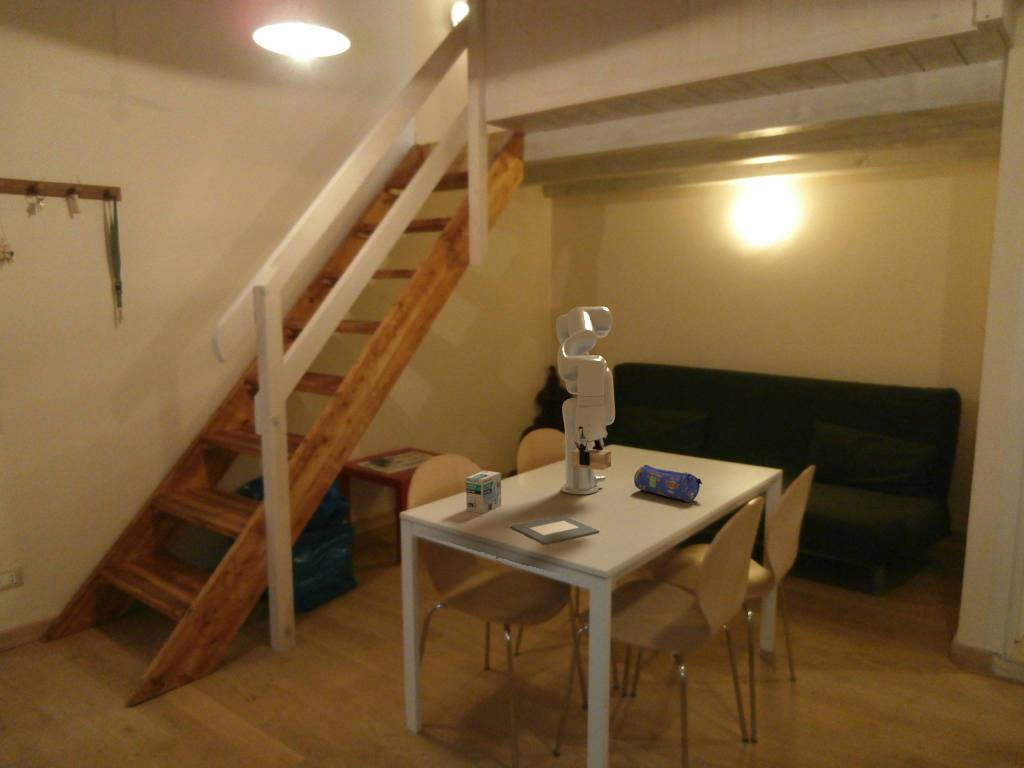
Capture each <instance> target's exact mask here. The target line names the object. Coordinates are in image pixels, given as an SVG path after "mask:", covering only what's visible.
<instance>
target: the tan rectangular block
mask: <svg viewBox="0 0 1024 768" xmlns="http://www.w3.org/2000/svg"><path fill="white" fill-rule="evenodd" d="M588 452H590V465H589V466H585V465H580V464H579V451H578V449H575V450H573V451H571V466H572V467H581V468H589V469H594V470H600V471H604V470H606V469H608V468H611V467H612V451H611V450H607V449H603V450H597V449H588Z"/></svg>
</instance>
